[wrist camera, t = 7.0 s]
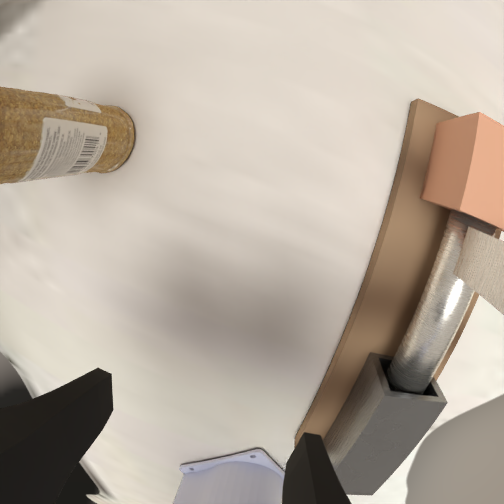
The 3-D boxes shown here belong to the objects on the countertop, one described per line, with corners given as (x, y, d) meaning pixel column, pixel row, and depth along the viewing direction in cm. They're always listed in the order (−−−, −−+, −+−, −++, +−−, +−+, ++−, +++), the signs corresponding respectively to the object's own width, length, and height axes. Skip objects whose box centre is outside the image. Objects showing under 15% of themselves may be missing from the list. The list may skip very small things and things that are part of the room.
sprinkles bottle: (118, 93, 17) (-56, 50, 4) (148, 147, 18) (-45, 144, 5) (72, 135, 18) (-96, 137, 6) (98, 187, 19) (-79, 228, 6)
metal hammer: (404, 392, 18) (435, 477, 11) (369, 387, 18) (391, 479, 11) (489, 180, 14) (580, 196, 7) (453, 163, 14) (543, 168, 7)
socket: (486, 225, 15) (532, 243, 11) (419, 198, 16) (459, 210, 11) (502, 156, 14) (550, 158, 9) (436, 123, 14) (479, 112, 10)
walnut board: (380, 448, 22) (382, 458, 21) (294, 437, 22) (294, 448, 21) (508, 150, 15) (519, 150, 14) (411, 102, 15) (418, 98, 14)
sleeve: (365, 454, 21) (372, 495, 17) (317, 449, 21) (317, 491, 17) (425, 362, 18) (447, 402, 14) (369, 351, 18) (384, 395, 14)
